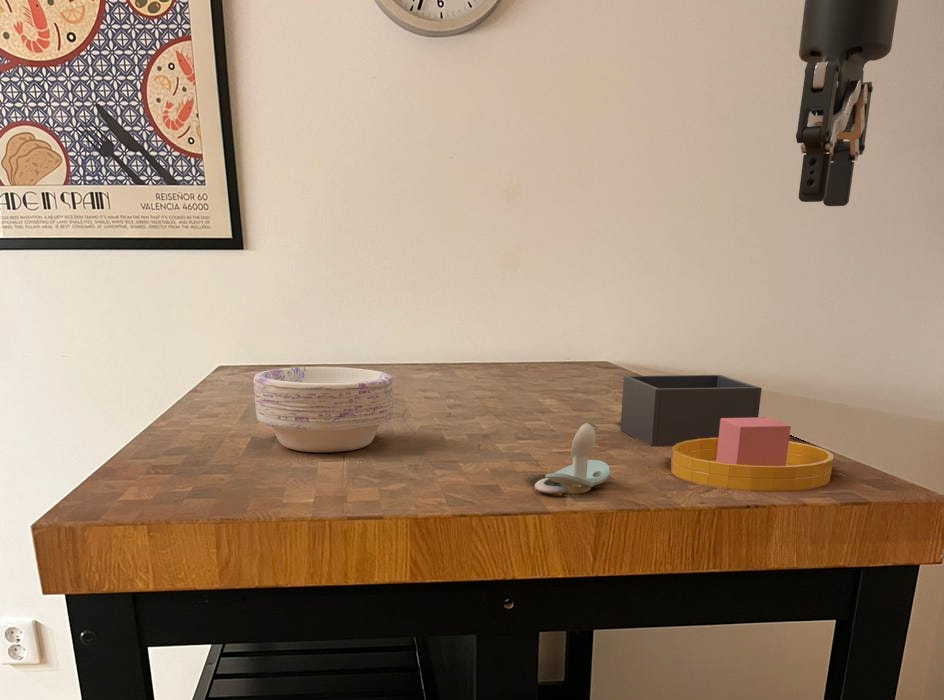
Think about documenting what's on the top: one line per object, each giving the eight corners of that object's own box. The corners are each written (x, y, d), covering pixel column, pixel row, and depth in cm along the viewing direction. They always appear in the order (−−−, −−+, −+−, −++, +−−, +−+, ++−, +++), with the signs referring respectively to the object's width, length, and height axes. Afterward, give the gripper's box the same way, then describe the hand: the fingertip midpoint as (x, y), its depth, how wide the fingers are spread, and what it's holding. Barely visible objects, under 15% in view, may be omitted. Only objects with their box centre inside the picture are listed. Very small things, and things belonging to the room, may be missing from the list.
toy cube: (762, 467, 97) (768, 417, 95) (784, 478, 92) (791, 425, 90) (715, 468, 96) (720, 418, 94) (734, 479, 91) (740, 426, 90)
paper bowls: (400, 456, 102) (398, 380, 100) (255, 460, 100) (249, 382, 97) (388, 432, 116) (387, 364, 113) (261, 435, 114) (255, 366, 111)
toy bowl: (787, 459, 102) (790, 435, 101) (859, 491, 88) (863, 464, 87) (650, 462, 100) (652, 438, 99) (702, 496, 86) (705, 468, 85)
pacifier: (521, 496, 87) (581, 502, 84) (521, 425, 84) (583, 430, 81) (558, 481, 92) (615, 486, 89) (558, 415, 90) (618, 418, 87)
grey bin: (714, 428, 120) (720, 374, 118) (755, 446, 109) (761, 387, 106) (620, 430, 118) (623, 375, 116) (651, 448, 107) (655, 389, 105)
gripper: (881, -32, 74) (848, 199, 80) (914, 5, 85) (883, 206, 91) (783, -19, 78) (759, 201, 84) (827, 15, 89) (803, 207, 95)
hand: (823, 203), depth 87 cm, fingers open, 8 cm apart
